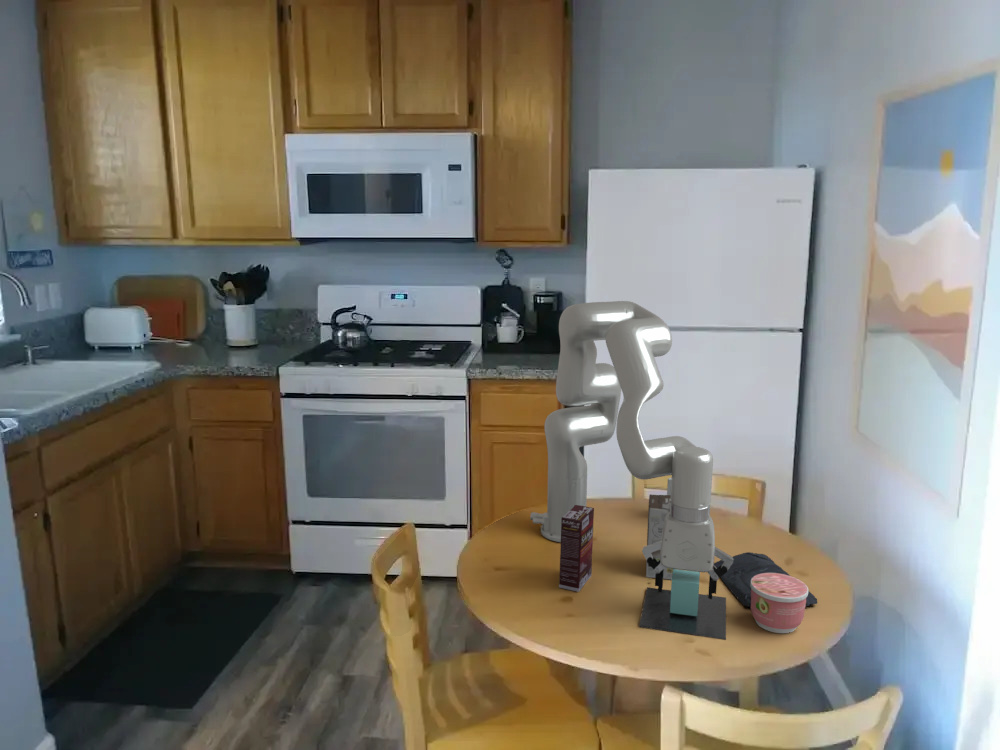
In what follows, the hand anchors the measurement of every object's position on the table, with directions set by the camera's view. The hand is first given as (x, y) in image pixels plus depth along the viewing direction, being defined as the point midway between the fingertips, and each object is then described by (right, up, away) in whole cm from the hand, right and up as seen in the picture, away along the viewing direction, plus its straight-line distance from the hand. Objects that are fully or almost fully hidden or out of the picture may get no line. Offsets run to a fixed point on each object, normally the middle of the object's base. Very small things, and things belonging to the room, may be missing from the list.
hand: (685, 592), depth 155 cm
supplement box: (-20, -2, +14) cm, 24 cm away
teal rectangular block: (0, -3, +1) cm, 3 cm away
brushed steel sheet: (0, -4, +1) cm, 4 cm away
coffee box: (-1, -1, +19) cm, 20 cm away
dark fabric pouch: (+19, -2, +12) cm, 23 cm away
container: (+17, -5, -3) cm, 18 cm away
